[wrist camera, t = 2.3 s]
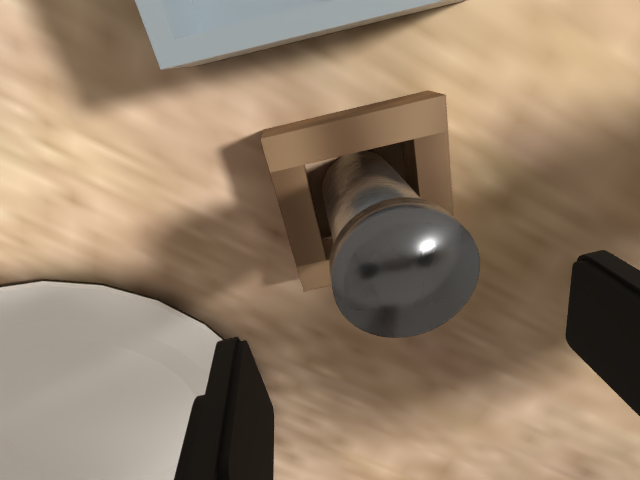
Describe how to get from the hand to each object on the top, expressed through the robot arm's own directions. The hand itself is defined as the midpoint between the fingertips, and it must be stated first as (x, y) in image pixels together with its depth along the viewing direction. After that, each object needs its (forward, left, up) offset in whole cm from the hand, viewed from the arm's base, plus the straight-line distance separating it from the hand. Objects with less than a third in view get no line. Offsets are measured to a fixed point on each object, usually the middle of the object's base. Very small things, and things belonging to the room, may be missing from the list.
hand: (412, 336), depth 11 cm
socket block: (-1, 0, -13) cm, 13 cm away
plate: (+21, +13, -13) cm, 28 cm away
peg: (-1, 0, -13) cm, 13 cm away
